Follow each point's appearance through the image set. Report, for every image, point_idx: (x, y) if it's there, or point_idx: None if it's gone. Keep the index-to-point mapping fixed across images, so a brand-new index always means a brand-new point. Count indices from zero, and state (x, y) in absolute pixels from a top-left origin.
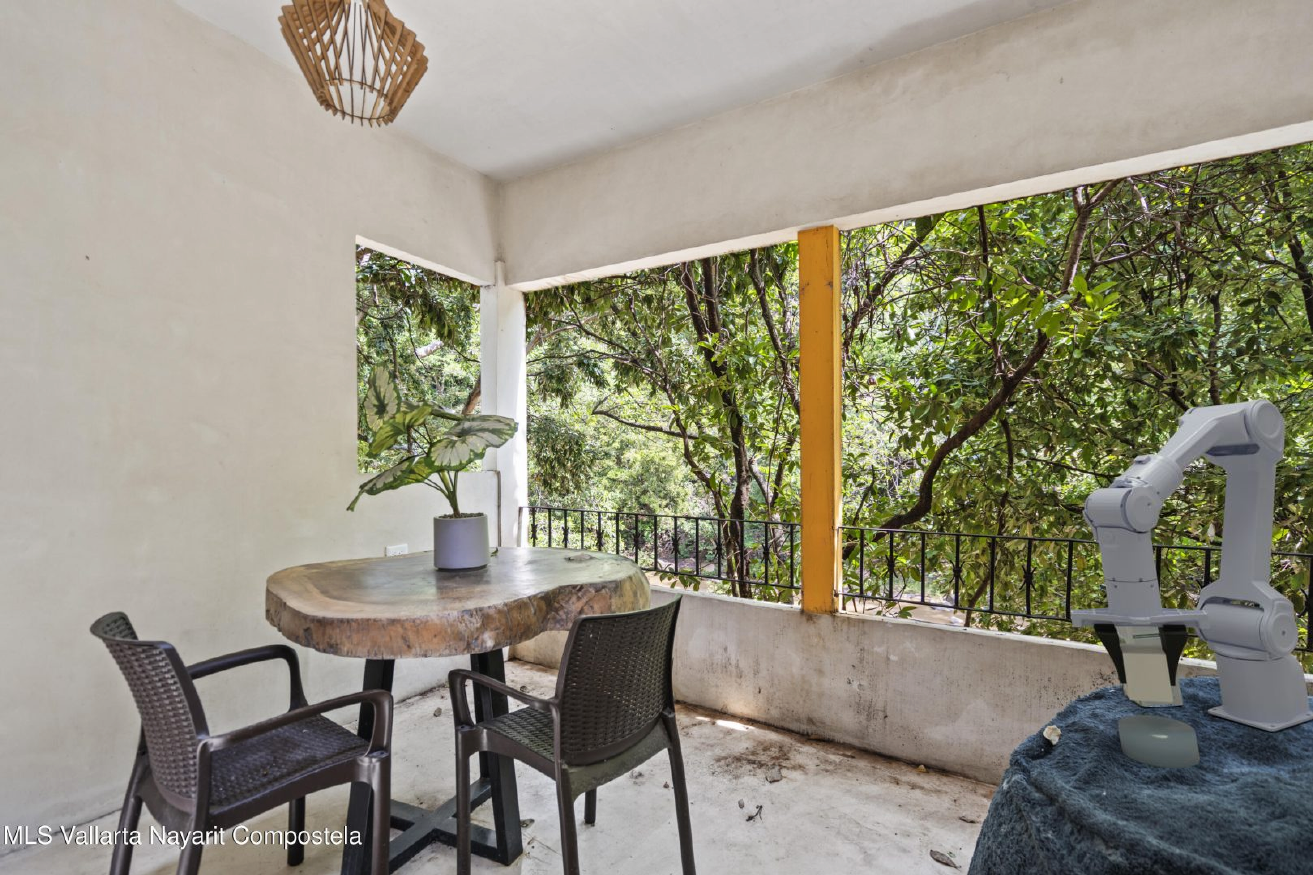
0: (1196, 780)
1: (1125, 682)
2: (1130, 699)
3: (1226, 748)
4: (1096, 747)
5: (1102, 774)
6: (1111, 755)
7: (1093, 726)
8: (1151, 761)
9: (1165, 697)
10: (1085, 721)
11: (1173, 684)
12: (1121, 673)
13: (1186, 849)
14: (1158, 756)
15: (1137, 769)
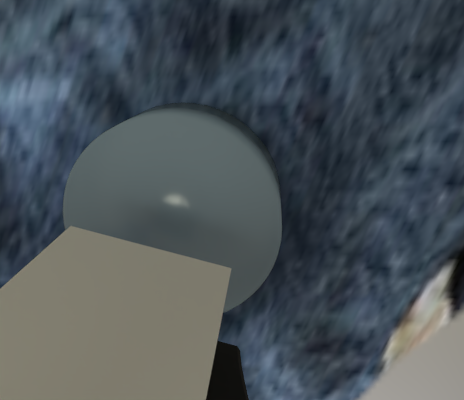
0: (159, 17)
1: (218, 343)
2: (228, 269)
3: (18, 221)
4: (338, 238)
5: (409, 52)
6: (321, 185)
7: (286, 364)
8: (237, 122)
9: (87, 242)
10: (293, 394)
11: None
12: (228, 376)
13: None
14: (216, 115)
15: (290, 90)
